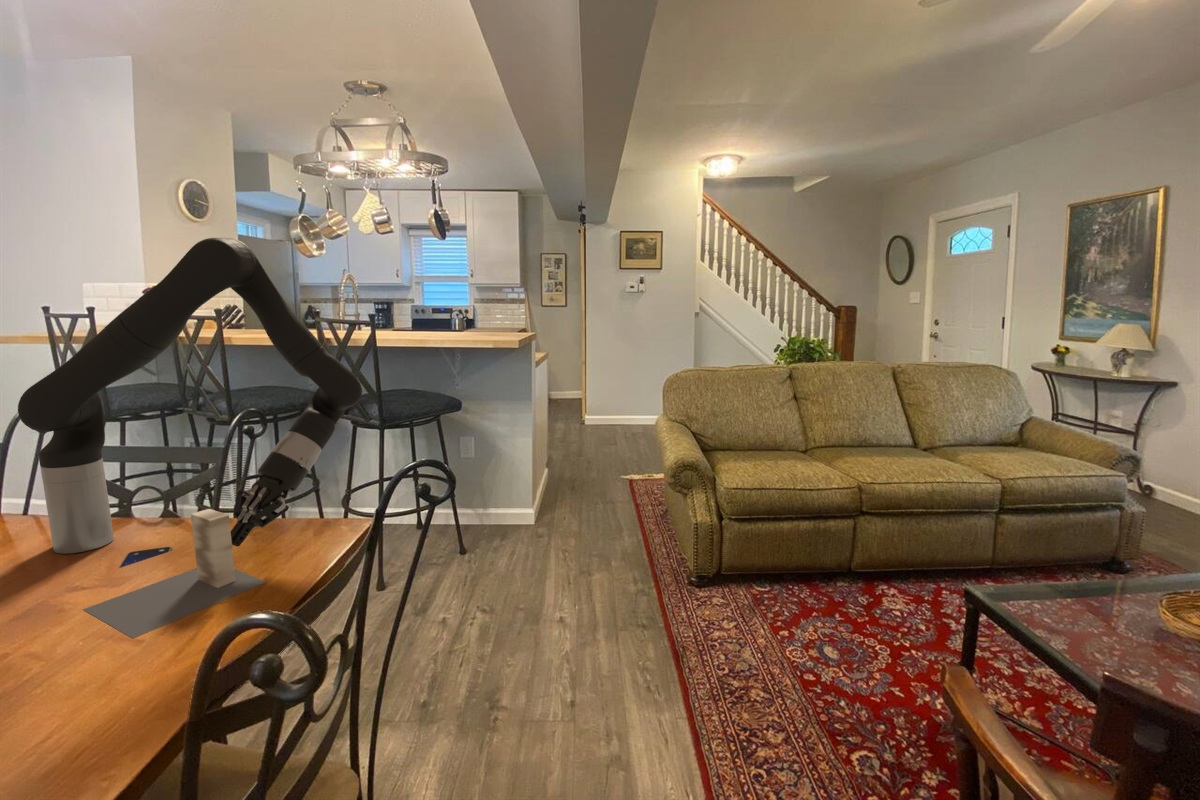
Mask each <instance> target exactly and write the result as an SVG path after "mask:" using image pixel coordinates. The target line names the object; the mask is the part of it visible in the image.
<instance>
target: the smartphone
mask: <svg viewBox="0 0 1200 800" xmlns="http://www.w3.org/2000/svg"><path fill="white" fill-rule="evenodd" d="M170 552H173V546H172V547H171V546H165V547H157V548H155V547H154V548H149V549H142V550H135V551H131V552H129V553H127V554H126V555H125V557H124V559H123V561H121V563H120V566H119V567H118V569H121V568H124V567H127V566H130V565H133V564H135V563H138V562H142V561H145V560H148V559H151V558H154V557H157V556H160V555H164V554H167V553H170Z"/></svg>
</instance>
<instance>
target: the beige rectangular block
mask: <svg viewBox="0 0 1200 800" xmlns="http://www.w3.org/2000/svg"><path fill="white" fill-rule="evenodd" d="M190 518H191V528H192V535H193V544H194V551H195V552H194V553H195V563H196V564H195V565H196V568H197V572H198V580H200V581H203V582H205V583H207V584H210V585H212V586H214V587H217V588H219V587H221V586H224V585H226V584H229V583H231V582H234V581H236V579H235V569H236V568H235V561H234V552H233V545H232V541H231V524H230V523H231V522H230V515H229V514H227V513H225V512H224V513H223V512H221V511H217V510H214V509H213V508H206V509H204V510H200V511H196V512H194V513H191V514H190Z"/></svg>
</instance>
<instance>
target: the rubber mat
mask: <svg viewBox="0 0 1200 800" xmlns="http://www.w3.org/2000/svg"><path fill="white" fill-rule="evenodd" d="M234 569H235V579H236V581H234V582H231V583H229V584H226V585H224V586H221V587H219V588H217V587H214V586H212V585H210V584H207V583H205V582H203V581H200V580H198V572H197V567H196V568H193V569H190V570H188V571H185V572H182V573H179V574H176V575H173V576H170V577H168V578H166V579H163V580H160V581H157V582H154V583H152V584H149V585H146V586H142V587H141V588H137V589H135V590H132V591H130V592H127V593H124V594H121V595H118V596H116V597H112V598H111V599H108V600H105V601H102V602H99V603H97V604H93V605H90V606H88V607H86V608H83V609H82V611H84V612H85V613H87V614H90V615H91V616H93V617H94V618H96V619H98V620H100V621H101V622H103V623H105V624H107V625H108V626H110V627H111V628H112V629H115V630H117V631H119V632H121V633H123V634H124V635H126V636H128V637H129V638H131V639H135V638H137V637H140V636H142V635H145V634H147V633H150V632H152V631H154V630H157V629H158V628H162V627H164V626H166V625H168V624H171V623H173V622H175V621H178V620H180V619H182V618H185V617H188V616H190V615H192V614H195V613H197V612H199V611H201V610H204V609H206V608H208V607H211V606H213V605H216V604H218V603H220V602H222V601H226V600H228V599H231V598H232V597H235V596H237V595H239V594H242V593H244V592H247V591H249V590H251V589H254V588H256V587H258V586H261V585H264V584H266V583H267V581H266V580H264V579H261V578H258V577H256V576H253V575H251V574H248V573H246V572H244V571H241V570H238V569H236V568H234Z"/></svg>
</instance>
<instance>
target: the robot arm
mask: <svg viewBox="0 0 1200 800" xmlns="http://www.w3.org/2000/svg"><path fill="white" fill-rule="evenodd" d="M227 289H231V290H232V291H234V292H235V293H236V294H237V295H238V296H240V298H241V299H243V301H245V303H246V304H247V305H248V306H249V308H251V310H253V313H255V315H256V317H257V318H258V320H259V322H260V324H261V326H262V327H263V329H264V330H265V333H266V334H267V337H268V339H269V341H270V342H271V343H272V345H273V346H274V348H275V350H277V352H278V353H279V354H280V355H281V356H282V357H283V358H284V359H285V360H286V362H288V364H289V365H290V366H291V367H292V369H294V371H296V373H298V374H299V375H300V376H302V377H306V378H309V379H310V380H311V381H312V382H313V383H314V384H315V385H317V386H318V388H317V389H316V390H315V392H314V394H313V395H312V397H311V398H310V400H309V402H308V403H307V406H306V407H305V409H304V411H303V412H302V413H301V414H300V415H299V416H298V417H297V419H296V420H295V422H294V423H293V424H292V426H291V427H290V428H289V430H288V431H287V433H286V434H284V436H282V438H281V439H280V440H279V441H278V442H277V444H276V445H275V446H274V448H273V449H272V450H271V452H270V453H269V454H268V456H267V457H266V459H265V460H264V461H263V462H262V464H261V465H260V467H258V469H257V473H258V475H259V478H258V479H257V480H256V481H255V482H254V483H253V484H252V485H251V488H249V489H247V490H244V489H242V488H241V489H239V490H238V491H237V494H236V499H235V504H234V508H233V512H232V513H233V516H234V517H235V518H236V523H235V525H234V526H233V527H232V529H230V531H231V541H232V546H235V547H240V546H241V545H242V544H243V542H244V541H245V540H246V539H247V537H248V536H249V534H250V532H251V531H252V530H253V529H254V530H255V529H256V528H257V527H260V528H264V527H265V526H267V525H268V524H271V522H273V521H274V520H276V519H278V518H279V517H280V516H282V515H283V514H284V513H286V512H287V511H289V509H290V506H289V505H288V504H286V501H285V500H286V499H287V497H288V495H289V492H296V491H297V489H298V488H299V486H300V485H301V484H302V482H303V480H304V479H305V478H306V476H307V475H308V474H309V472H310V471H311V469H312V467H313V466H314V464H315V463H316V461H317V460H318V458H319V456H320V454H321V452H322V450H323V449H324V448H325V447H326V446H327V445H326V444H327V443H328V442H329V441H330V439H331V438H332V436H333V434H334V432H335V430H336V424H337V423H338V421H339V420H340V418H341V417H342V416H343V414H344V413H345V411H346V410H347V409H348V408H351V407H353V406H354V405H356V404H357V403H359V400H360V399H361V398H362V395H363V388H362V385H361V382H360V381H359V379H358V378H357V376H356V375H355V374H354V373H353V372H352V371H351V370H350V369H349V368H348V367H347V366H346V365H345V364H343V363H342V362H341V361H340V360H339V359H337V358H335V356H333V355H332V354H330V353H329V352H328V351H327V349H326V347H324V346H323V344H322V343H321V342H320V341H319V340H318V338H316V336H315V335H314V334H313V333H312V332H311V330H310V329H309V328H308V327H307V326H306V325H305V324H304V323H303V322H302V320H301V319H300V318H299V317H298V316H297V314H296V313H295V312H294V310H293V308H291V307H290V305H289V304H288V303H287V302H286V300H285V299H284V297H283V296H282V294H281V293H280V292H279V290H278V288H276V286H275V284H274V283H273V281H272V280H271V278H270V277H269V274H267V272H266V270H265V269H264V267H263V265H262V264H261V262H260V261H259V259H258V258H257V256H256V254H255V253H254V251H253V250H252V249H251V248H250V247H249V246H248V245H247V244H246V243H244V242H243V241H241V240H240V239H235V238H231V237H209V238H205V239H202V240H199V241H198V242H196V243H195V244H194V245H193V246H192V247H190V249H189V250H188V251H187V252H186V253H185V255H183V257H182V258H181V259H180V260H179V261H178V262H177V263H176V264H175V266H173V268H172V269H171V270H170V271H169V272H168V274H167V275H165V277H164V278H163V279H161V281H159V282H158V283H156V285H155V286H153V287H151V289H149V290H147V292H145V293H144V294H142V295H141V296H140V297H139V298H137V299H136V300H134V302H133V303H132V304H130V305H129V306H127V308H125V309H124V310H122V312H121V313H119V314H118V315H117V316H115V317H114V318H113V319H112V320H111V321H110V322H109V323H108V324H106V325H105V326H104V327H103V328H102V329H101V330H100V331H99V332H98V333H97V334H96V335H95V336H94V337H93V338H92V339H90V340H89V341H88V342H87V343H85V345H83V346H82V347H81V348H80V349H79V350H78V351H77V352H76V353H75V354H74V355H73V356H72V357H70V358H69V359H68V360H67V361H66V362H64V363H63V364H61V366H59V367H57V368H56V369H55V370H53V371H52V372H50V373H49V374H48V375H46V376H44V377H43V378H41V379H39V380H38V381H37V382H35V383H34V384H32V385H31V386H30V387H28V388H27V389H26V390H25V391H24V393H23V394H22V395H21V396H20V398H19V401H18V404H17V413H18V417H19V419H20V421H21V423H23V424H24V425H25V426H27V428H30V429H32V430H35V431H39V432H53V434H52V436H51V439H50V440H49V442H48V443H47V444H45V446H44V447H43V448H42V449H40V451H39V452H38V462H39V465H40V466H39V467H40V474H41V479H42V486H43V492H44V498H45V504H46V512H47V516H48V523H49V530H50V536H51V543H52V549H53V552H55V553H56V554H66V555H67V554H76V553H77V554H78V553H82V552H87V551H91V550H97V549H98V548H101V547H104V546H106V545H108V544H110V543H111V542H113V541H114V539H115V537H114V530H113V522H112V515H111V508H110V500H109V494H108V487H107V480H106V473H105V467H104V466H105V465H104V458H103V448H104V445H105V442H106V432H105V431H106V430H105V417H104V416H105V415H104V408H103V401H102V397H101V395H100V393H99V392H100V391H102V390H103V389H104V388H107V387H108V386H109V385H111V384H113V383H115V382H117V381H119V380H122V379H124V378H125V377H127V376H130V375H131V374H133V373H135V372H137V371H138V370H140V369H142V368H143V367H144V366H146V365H148V364H149V363H150V362H152V361H154V360H155V359H156V358H157V357H158V356H159V355H161V354H162V353H163V352H164V351H165V350H167V349H168V348H169V347H170V346H172V344H173V343H174V342H175V341H176V339H177V338H178V337H179V336H180V335H181V333H182V332H183V330H184V329H185V327H186V325H187V323H188V322H189V319H190V318H191V317H192V315H193V314H194V313H195V312H196V311H197V310H198V309H199V308H201V307H202V306H203V305H204V304H205V303H207V302H208V301H210V300H211V299H213V298H214V297H215V296H217V295H219V294H220V293H221V292H223V291H225V290H227Z"/></svg>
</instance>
